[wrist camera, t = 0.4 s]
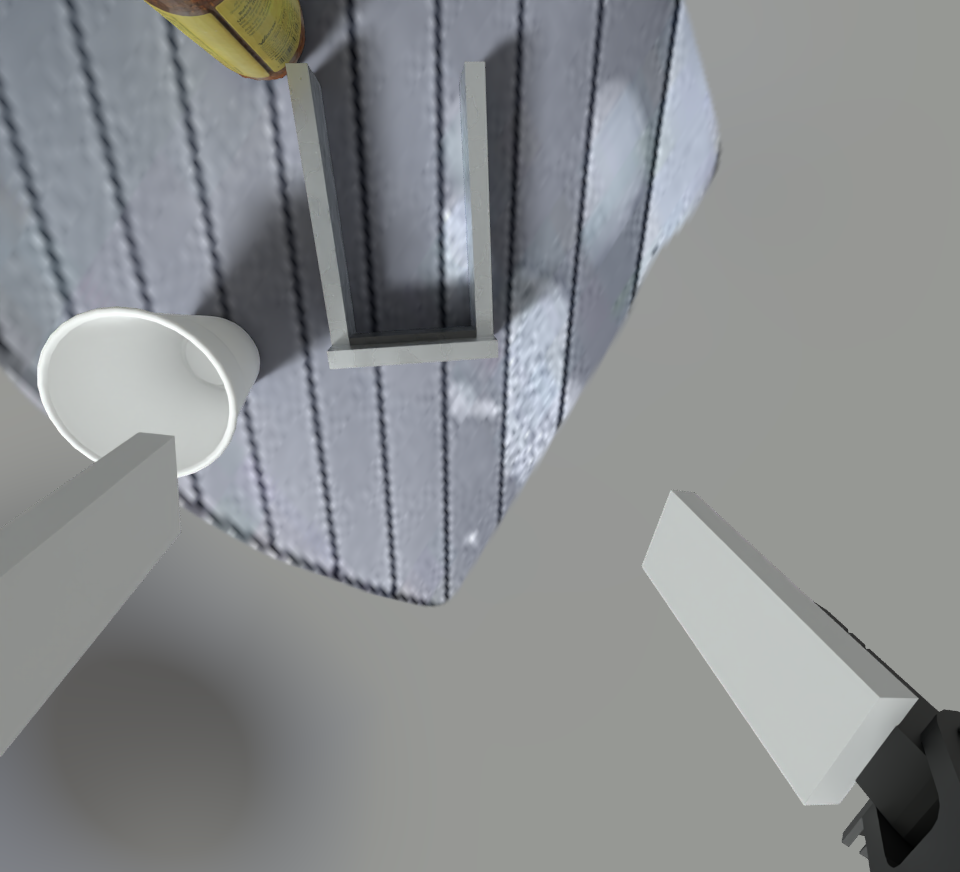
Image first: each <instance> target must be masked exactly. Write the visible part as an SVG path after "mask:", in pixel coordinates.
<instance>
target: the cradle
mask: <svg viewBox="0 0 960 872" xmlns="http://www.w3.org/2000/svg"><path fill="white" fill-rule="evenodd" d="M285 65H286V71H287V77H288V83H289V89H290V96H291V102H292V108H293V114H294V120H295V126H296V132H297V138H298V144H299V150H300V156H301V162H302V168H303V174H304V180H305V186H306V192H307V198H308V204H309V210H310V216H311V222H312V228H313V234H314V240H315V246H316V252H317V258H318V264H319V270H320V276H321V282H322V288H323V294H324V300H325V306H326V312H327V318H328V324H329V330H330V336H331V342H332V346H331V347H330V348H329V350H328V351H327V355H328V361H329V367H330V369H342V368H356V367H370V366H384V365H398V364H413V363H427V362H441V361H455V360H470V359H484V358H498V340H497V339H496V338H495V336H494V335H493V308H492V276H491V243H490V211H489V179H488V146H487V114H486V82H485V62H464V66H463V70H462V74H461V78H460V82H459V92H460V112H461V132H462V153H463V173H464V193H465V214H466V234H467V255H468V275H469V295H470V316H471V326H461V327H446V328H430V329H414V330H398V331H382V332H367V333H356V327H355V320H354V313H353V306H352V299H351V292H350V285H349V278H348V272H347V265H346V258H345V251H344V244H343V237H342V230H341V223H340V216H339V209H338V202H337V195H336V188H335V181H334V175H333V168H332V161H331V154H330V147H329V140H328V133H327V126H326V119H325V112H324V105H323V98H322V91H321V85H320V84H319V82H318V80H317V79H316V77H315V75H314V74H313V72H312V71H311V69H310V67H309V66H308V64H307V63H285Z"/></svg>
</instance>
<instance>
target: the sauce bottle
mask: <svg viewBox="0 0 960 872" xmlns="http://www.w3.org/2000/svg"><path fill="white" fill-rule="evenodd" d="M144 1H145V2H146V3H148V4H149V5H150V6H151V7H153V8H154V9H155V10H156V11H157V12H159V13H160V14H161V15H162V16H164V17H165V18H166V19H167V20H168V21H170V22H171V23H172V24H173V25H174V26H176V27H177V28H178V29H179V30H181V31H182V32H183V33H184V34H185V35H187V36H188V37H189V38H190V39H192V40H193V41H194V42H195V43H197V44H198V45H199V46H201V47H202V48H203V49H204V50H205V51H207V52H208V53H209V54H210V55H212V56H213V57H214V58H215V59H217V60H218V61H219V62H220V63H222V64H223V65H224V66H226V67H227V68H229V69H231V70H232V71H234V72H236V73H238V74H239V75H241V76H242V77H244V78H251V79H255V80H272V79H278V78H283V77H284V76H285V75H287V71H286V65H285V63H297V61H298V59H299V57H300V55H301V54H302V50H303V48H304V43H305V28H304V19H303V14H302V9H301V6H300V2H299V0H144Z"/></svg>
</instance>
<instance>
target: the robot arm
mask: <svg viewBox="0 0 960 872" xmlns="http://www.w3.org/2000/svg"><path fill="white" fill-rule="evenodd" d="M180 533H181V523H180V508H179V493H178V479H177V464H176V450H175V436H172V435H162V434H153V433H144V432H138V433H137V434H135V435H134V436H132V437H131V438H129V439H128V440H126V441H125V442H124V443H122V444H121V445H119V446H118V447H116V448H115V449H114V450H112V451H111V452H109V453H108V454H106V455H105V456H103V457H102V458H101V459H99V460H98V461H96V462H95V463H93V464H92V465H91V466H89V467H88V468H86V469H85V470H83V471H82V472H80V473H79V474H78V475H76V476H75V477H73V478H72V479H71V480H69V481H67V482H66V483H65V484H63V485H62V486H60V487H59V488H57V489H56V490H54V491H53V492H52V493H50V494H49V495H47V496H46V497H44V498H43V499H42V500H40V501H39V502H37V503H36V504H34V505H33V506H31V507H30V508H29V509H27V510H26V511H24V512H23V513H21V514H20V515H18V516H17V517H16V518H14V519H13V520H11V521H10V522H8V523H7V524H5V525H4V526H3V527H1V528H0V757H1V756H2V755H3V753H4V752H5V751H6V750H7V749H8V747H9V746H10V745H11V743H12V742H13V741H14V739H16V737H17V736H18V735H19V734H20V732H21V731H22V730H23V729H24V727H25V726H26V725H27V724H28V722H29V721H30V720H31V719H32V717H33V716H34V715H35V713H36V712H37V711H38V710H39V708H41V706H42V705H43V704H44V702H45V701H46V700H47V699H48V698H49V696H50V695H51V694H52V693H53V691H54V690H55V689H56V688H57V686H58V685H59V684H60V683H61V681H62V680H63V679H64V678H65V676H66V675H67V674H68V673H69V671H70V670H71V669H72V667H73V666H74V665H75V664H76V663H77V661H78V660H79V659H80V658H81V657H82V655H83V654H84V653H85V651H86V650H87V649H88V648H89V647H90V645H91V644H92V643H93V641H94V640H95V639H96V638H97V637H98V635H99V634H100V633H101V632H102V630H103V629H104V628H105V627H106V625H107V624H108V623H109V622H110V620H111V619H112V618H113V617H114V616H115V614H116V613H117V612H118V611H119V609H120V608H121V607H122V605H123V604H124V603H125V602H126V601H127V599H128V598H129V597H130V596H131V594H132V593H133V592H134V591H135V589H136V588H137V587H138V586H139V584H140V583H141V582H142V581H143V579H144V578H145V577H146V576H147V574H148V573H149V572H150V571H151V570H152V568H153V567H154V566H155V565H156V563H157V562H158V561H159V560H160V558H161V557H162V556H163V555H164V553H165V552H166V551H167V550H168V548H169V547H170V546H171V545H172V543H173V542H174V541H175V540H176V538H177V537H178V536H179V535H180ZM642 568H643V569H644V571H645V572H646V574H647V575H648V577H649V578H650V580H651V581H652V583H653V584H654V585H655V587H656V588H657V590H658V591H659V593H660V594H661V596H662V597H663V599H664V600H665V602H666V603H667V605H668V606H669V608H670V609H671V611H672V612H673V614H674V615H675V616H676V618H677V619H678V621H679V622H680V624H681V625H682V627H683V628H684V630H685V631H686V633H687V634H688V635H689V637H690V638H691V640H692V641H693V643H694V644H695V645H696V647H697V649H698V650H699V652H700V653H701V655H702V656H703V657H704V659H705V660H706V662H707V663H708V665H709V666H710V668H711V669H712V671H713V672H714V674H715V675H716V677H717V678H718V680H719V681H720V683H721V684H722V686H723V687H724V688H725V690H726V691H727V693H728V694H729V696H730V697H731V699H732V700H733V702H734V703H735V705H736V706H737V708H738V709H739V710H740V712H741V713H742V715H743V716H744V718H745V719H746V721H747V722H748V724H749V725H750V727H751V728H752V730H753V731H754V733H755V734H756V736H757V737H758V738H759V740H760V741H761V743H762V744H763V746H764V747H765V748H766V750H767V752H768V753H769V755H770V756H771V758H772V759H773V760H774V762H775V763H776V765H777V766H778V768H779V769H780V771H781V772H782V774H783V775H784V777H785V778H786V779H787V781H788V783H789V784H790V785H791V787H792V788H793V790H794V791H795V793H796V794H797V796H798V797H799V799H800V800H801V802H802V803H803V805H825V804H840V802H841V801H842V800H843V798H844V797H845V796H846V794H847V793H848V792H849V790H850V789H851V788H852V786H853V785H854V784H855V782H857V783H858V784H859V786H860V787H861V788H862V789H863V791H864V792H865V793H866V794H867V796H868V797H869V798H870V799H869V800H868V802H867V803H866V804H865V806H864V807H863V808H862V809H861V811H860V812H859V813H858V814H857V816H856V817H855V818H854V820H853V821H852V822H851V823H850V825H849V826H848V827H847V828H846V830H845V831H844V833H843V838H842V843H844V844H845V845H847V846H848V847H849V846H850V845H851V844H852V842H853V841H854V840H855V839H856V838H857V836H858V835H862V836H865V840H866V845H865V846H864V847H863V848H862V849H861V851H860V854H861V855H863V856H865V857H866V858H867V859H868V860H869V867H870V872H960V712H958V711H951V710H942V711H940V712H939V711H937V710H936V709H935V708H934V707H933V706H932V705H930V704H929V703H928V702H927V701H926V700H925V699H924V698H923V697H922V696H921V695H920V694H918V693H917V692H916V691H915V690H914V689H913V688H912V687H911V686H910V685H909V684H908V683H906V682H905V681H904V680H903V679H902V678H901V677H899V675H897V674H896V673H895V672H894V671H893V670H892V669H891V668H890V667H889V666H888V665H887V664H886V663H884V662H883V661H882V660H881V659H880V658H879V657H878V656H876V655H875V653H873V652H872V651H871V650H870V649H866V648H865V644H864V643H862V642H861V641H860V640H859V639H858V638H857V637H856V636H855V635H854V634H853V633H848V629H847V628H846V627H845V626H844V625H843V624H842V623H840V622H839V621H838V620H837V619H836V618H835V617H834V616H833V615H831V613H830V612H828V611H827V610H826V609H824V608H823V607H821V606H820V605H818V604H817V603H815V602H814V601H812V600H811V599H810V598H809V597H808V596H806V594H804V593H803V592H802V591H801V590H800V589H799V588H798V587H797V586H796V585H795V584H794V583H793V582H791V581H790V580H789V579H788V578H787V577H786V576H785V575H784V574H783V573H782V572H781V571H780V570H778V569H777V568H776V567H775V566H774V565H773V564H772V563H771V562H770V561H769V560H768V559H766V558H765V557H764V556H763V555H762V554H761V553H760V552H759V551H758V550H757V549H756V548H755V547H753V546H752V545H751V544H750V543H749V542H748V541H747V540H746V539H745V538H743V537H742V536H741V535H740V534H739V533H738V532H737V531H736V530H735V529H734V528H733V527H732V526H731V525H730V524H728V523H727V522H726V521H725V520H724V519H723V518H722V517H721V516H720V515H719V514H718V513H716V512H715V511H714V510H713V509H712V508H711V507H710V506H709V505H708V504H707V503H705V502H704V501H703V500H702V499H701V498H700V497H699V496H698V495H697V494H696V493H695V492H686V491H678V490H671V491H670V494H669V496H668V499H667V502H666V504H665V507H664V509H663V512H662V515H661V517H660V520H659V523H658V525H657V528H656V530H655V533H654V536H653V538H652V541H651V544H650V546H649V549H648V552H647V554H646V557H645V559H644V562H643V564H642Z"/></svg>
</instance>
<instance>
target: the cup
mask: <svg viewBox="0 0 960 872" xmlns="http://www.w3.org/2000/svg"><path fill="white" fill-rule="evenodd" d="M259 369H260V357H259V353H258V349H257V347H256V345H255V343H254V341H253V340H252V338H251V337H250V336H249V334H248V333H247V332H245V331H244V330H243V329H242V328H241V327H240V326H238V325H237V324H235V323H233V322H231V321H229V320H227V319H224V318H220V317H215V316H202V315H181V314H163V313H152V312H149V311H145V310H141V309H137V308H127V307H107V308H97V309H93V310H90V311H87V312H84V313H80V314H78V315H76V316H74V317H73V318H71V319H69V320H67V321H66V322H64V323H62V324H61V325H60V326H59V327H58V328H57V329H56V330H55V331H54V332H53V333H52V334H51V335H50V337H49V339H48V340H47V342H46V344H45V346H44V347H43V349H42V351H41V355H40V359H39V363H38V367H37V373H38V388H39V392H40V396H41V400H42V403H43V405H44V407H45V409H46V412H47V414H48V416H49V418H50V419H51V421H52V422H53V424H54V425H55V426H56V428H57V429H58V431H59V432H60V433H61V434H62V435H63V437H65V439H66V440H67V441H69V442H70V443H71V444H72V445H73V446H74V447H75V448H76V449H77V450H79V451H80V452H81V453H83V454H84V455H86V456H87V457H88V458H89V459H91V460H93V461H95V462H96V461H98V460H99V459H101V458H102V457H103V456H105V455H106V454H108V453H109V452H111V451H112V450H114V449H115V448H116V447H118V446H119V445H121V444H122V443H124V442H125V441H126V440H128V439H129V438H131V437H132V436H134V435H135V434H137V433H138V432H144V433H153V434H162V435H172V436H175V450H176V464H177V478H178V477H182V476H186V475H189V474H192V473H195V472H197V471H199V470H201V469H203V468H205V467H207V466H209V465H210V464H211V463H212V462H214V461H215V460H216V459H217V458H218V457H219V456H221V455H222V453H223V452H224V451H225V449H226V448H227V446H228V445H229V444H230V442H231V439H232V437H233V434H234V432H235V430H236V424H237V418H238V416H239V414H240V412H241V409H242V407H243V405H244V403H245V401H246V399H247V397H248V395H249V393H250V391H251V389H252V387H253V385H254V383H255V381H256V378H257V376H258V373H259Z"/></svg>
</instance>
